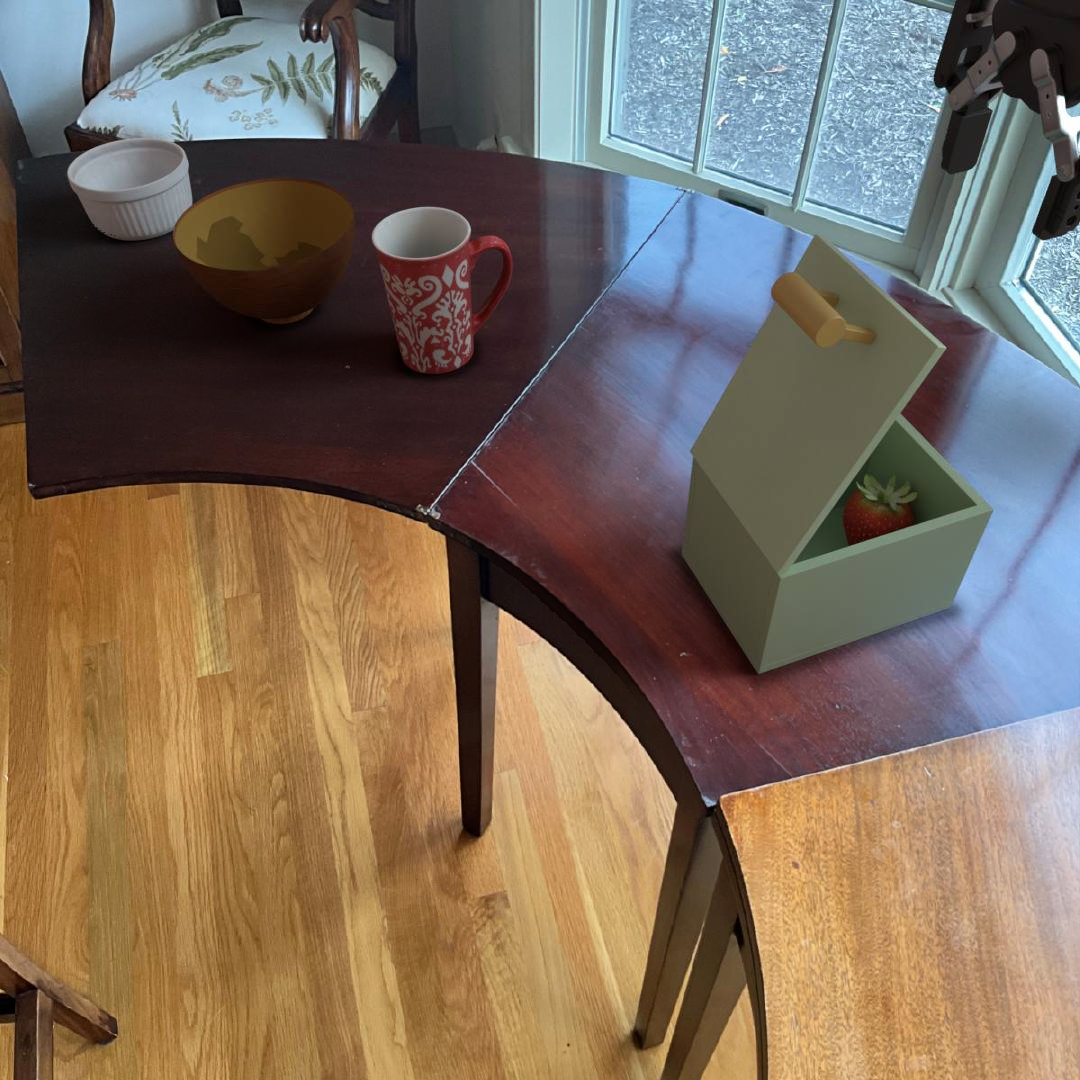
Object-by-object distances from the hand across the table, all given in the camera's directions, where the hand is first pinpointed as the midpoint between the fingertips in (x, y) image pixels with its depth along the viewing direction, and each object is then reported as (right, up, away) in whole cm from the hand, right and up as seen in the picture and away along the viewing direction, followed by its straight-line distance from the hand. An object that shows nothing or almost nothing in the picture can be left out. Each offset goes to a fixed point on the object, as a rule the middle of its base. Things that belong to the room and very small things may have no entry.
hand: (1000, 200), depth 60 cm
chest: (-6, -24, +18) cm, 31 cm away
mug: (-36, -2, +40) cm, 54 cm away
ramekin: (-75, +18, +59) cm, 97 cm away
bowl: (-55, +4, +46) cm, 72 cm away
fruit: (-2, -22, +19) cm, 29 cm away
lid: (-11, -12, +3) cm, 17 cm away
